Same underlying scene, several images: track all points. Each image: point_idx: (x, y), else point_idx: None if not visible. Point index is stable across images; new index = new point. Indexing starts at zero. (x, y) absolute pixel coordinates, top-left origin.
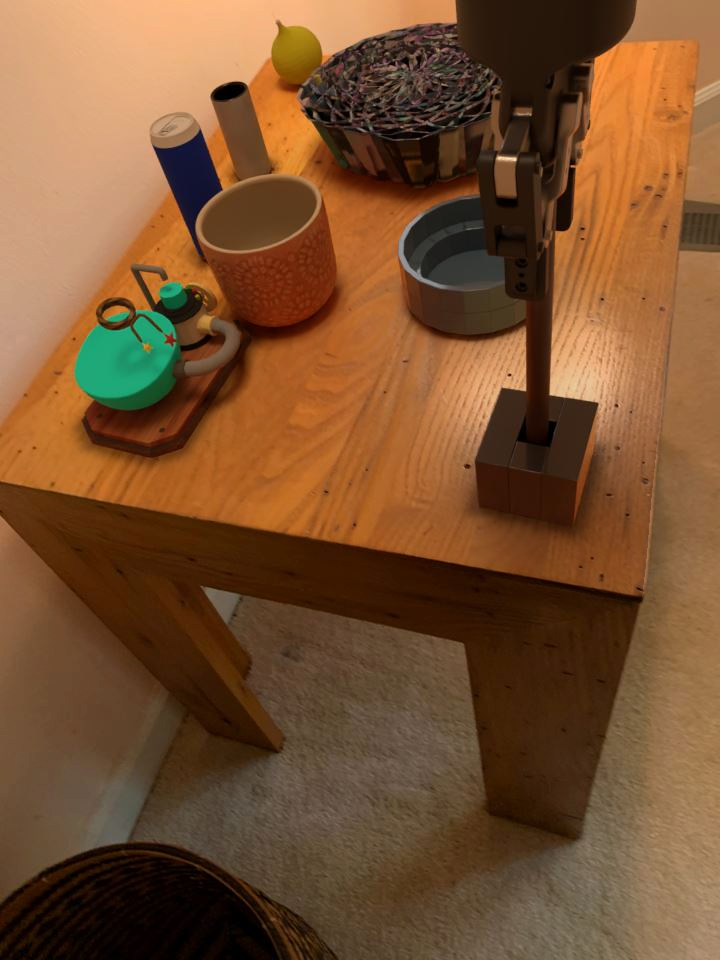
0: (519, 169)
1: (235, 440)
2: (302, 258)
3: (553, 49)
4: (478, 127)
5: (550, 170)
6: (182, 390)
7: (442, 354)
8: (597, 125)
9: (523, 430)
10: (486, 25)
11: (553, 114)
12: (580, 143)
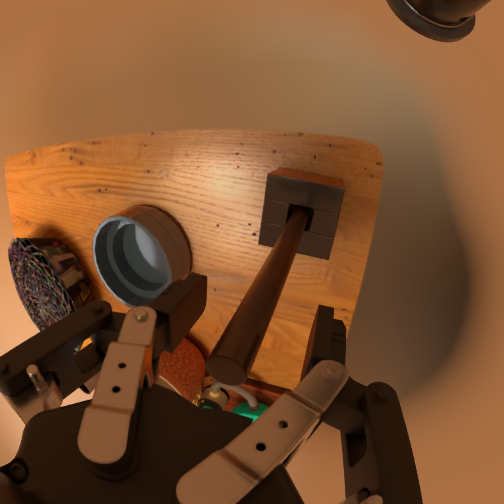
0: None
1: (284, 370)
2: (173, 368)
3: None
4: (56, 267)
5: (165, 337)
6: (256, 395)
7: (206, 268)
8: (40, 192)
9: None
10: None
11: None
12: (129, 320)
